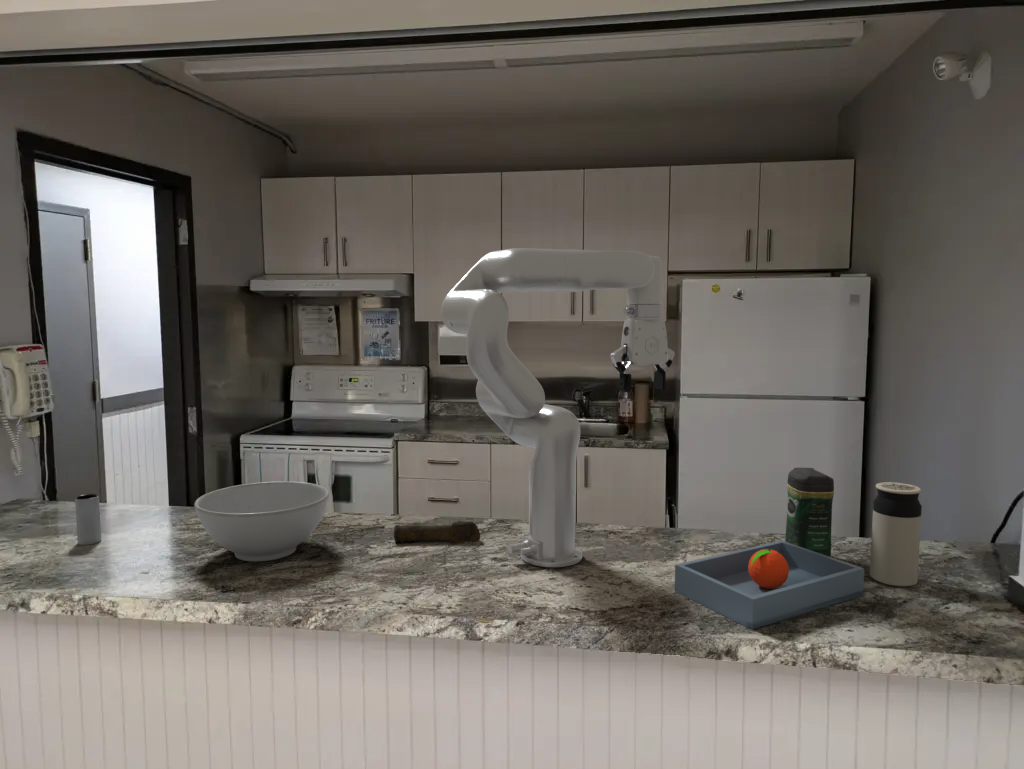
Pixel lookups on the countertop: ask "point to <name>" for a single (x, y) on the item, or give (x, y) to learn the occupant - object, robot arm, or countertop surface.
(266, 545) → the decorative bowl
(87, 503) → the gray cylinder
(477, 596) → the countertop surface
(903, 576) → the travel mug
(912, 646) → the countertop surface
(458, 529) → the hand tool
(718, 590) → the bin
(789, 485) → the coffee jar
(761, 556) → the clementine
